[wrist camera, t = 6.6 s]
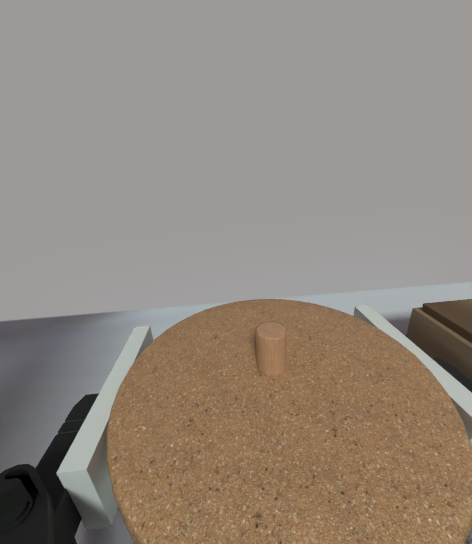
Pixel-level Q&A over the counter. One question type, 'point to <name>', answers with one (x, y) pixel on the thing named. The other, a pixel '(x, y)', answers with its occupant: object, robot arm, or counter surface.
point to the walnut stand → (444, 332)
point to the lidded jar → (286, 434)
